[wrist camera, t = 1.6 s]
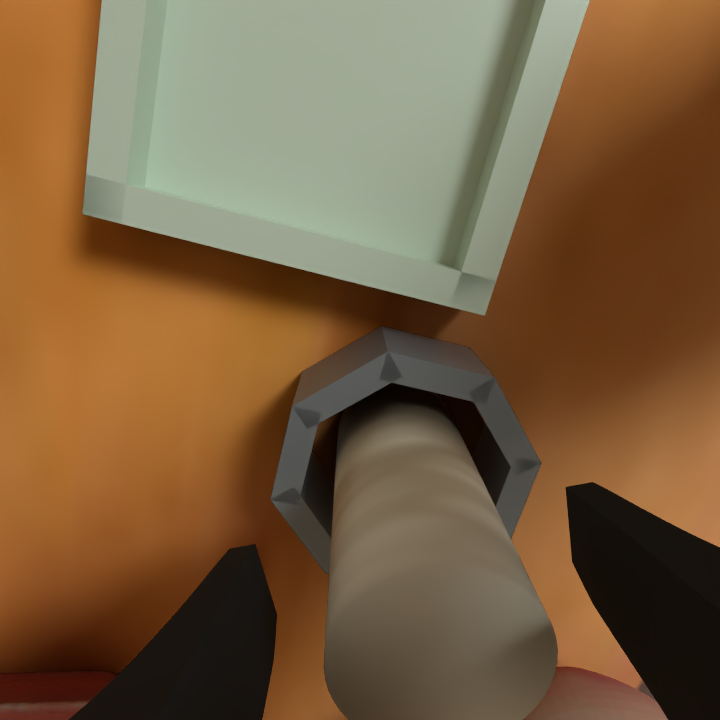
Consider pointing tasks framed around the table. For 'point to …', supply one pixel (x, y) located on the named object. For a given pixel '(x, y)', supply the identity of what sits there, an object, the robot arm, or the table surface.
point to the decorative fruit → (593, 699)
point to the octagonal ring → (367, 375)
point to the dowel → (425, 576)
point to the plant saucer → (49, 693)
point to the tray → (330, 131)
